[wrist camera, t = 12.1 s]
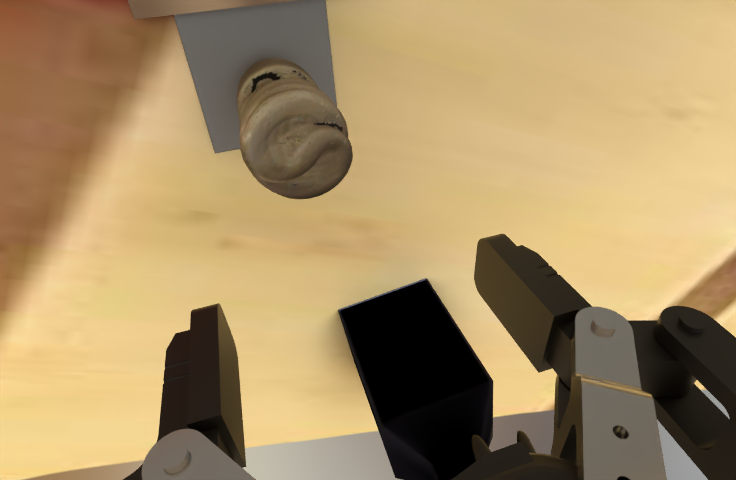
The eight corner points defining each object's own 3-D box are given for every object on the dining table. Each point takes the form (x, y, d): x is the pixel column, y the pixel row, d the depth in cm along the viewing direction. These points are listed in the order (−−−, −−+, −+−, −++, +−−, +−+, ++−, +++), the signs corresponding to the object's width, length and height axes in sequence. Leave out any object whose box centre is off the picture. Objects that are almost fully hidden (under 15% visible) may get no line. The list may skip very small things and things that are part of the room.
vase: (450, 261, 49) (757, 672, 22) (454, 326, 56) (691, 698, 29) (329, 303, 47) (504, 811, 20) (350, 366, 54) (499, 803, 27)
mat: (322, -9, 30) (324, -8, 30) (337, 128, 36) (339, 130, 36) (172, 8, 28) (172, 9, 28) (214, 150, 34) (215, 153, 34)
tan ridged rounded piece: (210, 79, 31) (216, 172, 19) (259, 16, 29) (297, 74, 18) (273, 128, 34) (311, 233, 22) (319, 74, 33) (385, 154, 21)
